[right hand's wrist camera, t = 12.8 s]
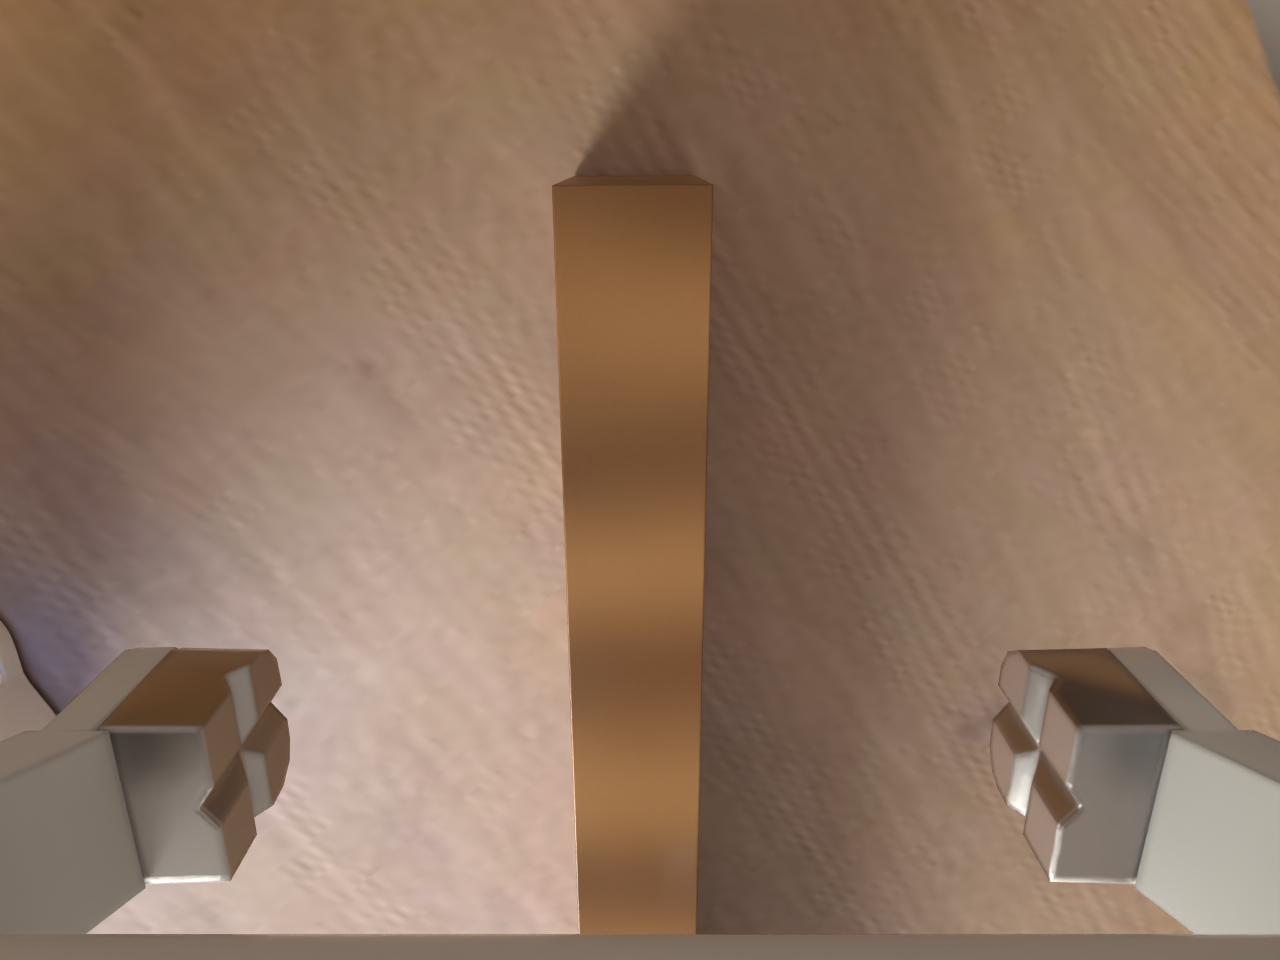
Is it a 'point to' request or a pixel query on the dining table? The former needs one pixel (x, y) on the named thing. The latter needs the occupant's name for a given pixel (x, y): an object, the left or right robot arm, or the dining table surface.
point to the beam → (634, 535)
